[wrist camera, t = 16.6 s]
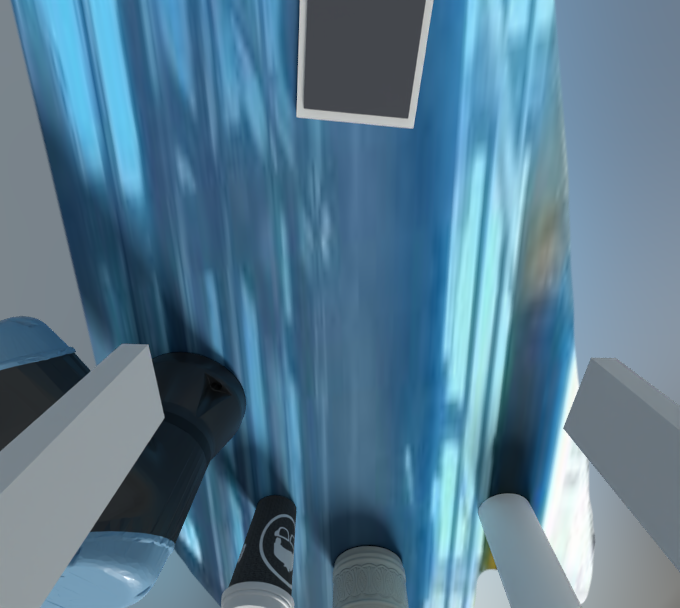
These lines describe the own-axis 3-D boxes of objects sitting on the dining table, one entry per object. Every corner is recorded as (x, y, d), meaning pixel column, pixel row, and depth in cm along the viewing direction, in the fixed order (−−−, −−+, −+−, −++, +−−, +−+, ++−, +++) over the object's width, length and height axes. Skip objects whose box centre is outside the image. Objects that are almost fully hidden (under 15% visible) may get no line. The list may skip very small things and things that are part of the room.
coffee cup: (251, 484, 55) (219, 596, 41) (310, 494, 55) (297, 608, 42) (245, 521, 59) (213, 635, 45) (300, 530, 59) (285, 645, 46)
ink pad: (297, 117, 33) (295, 116, 32) (302, -33, 28) (300, -43, 27) (411, 128, 33) (414, 127, 32) (434, -20, 29) (439, -29, 27)
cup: (470, 521, 57) (511, 649, 43) (490, 489, 54) (542, 615, 39) (516, 529, 58) (572, 658, 43) (539, 498, 54) (608, 626, 40)
